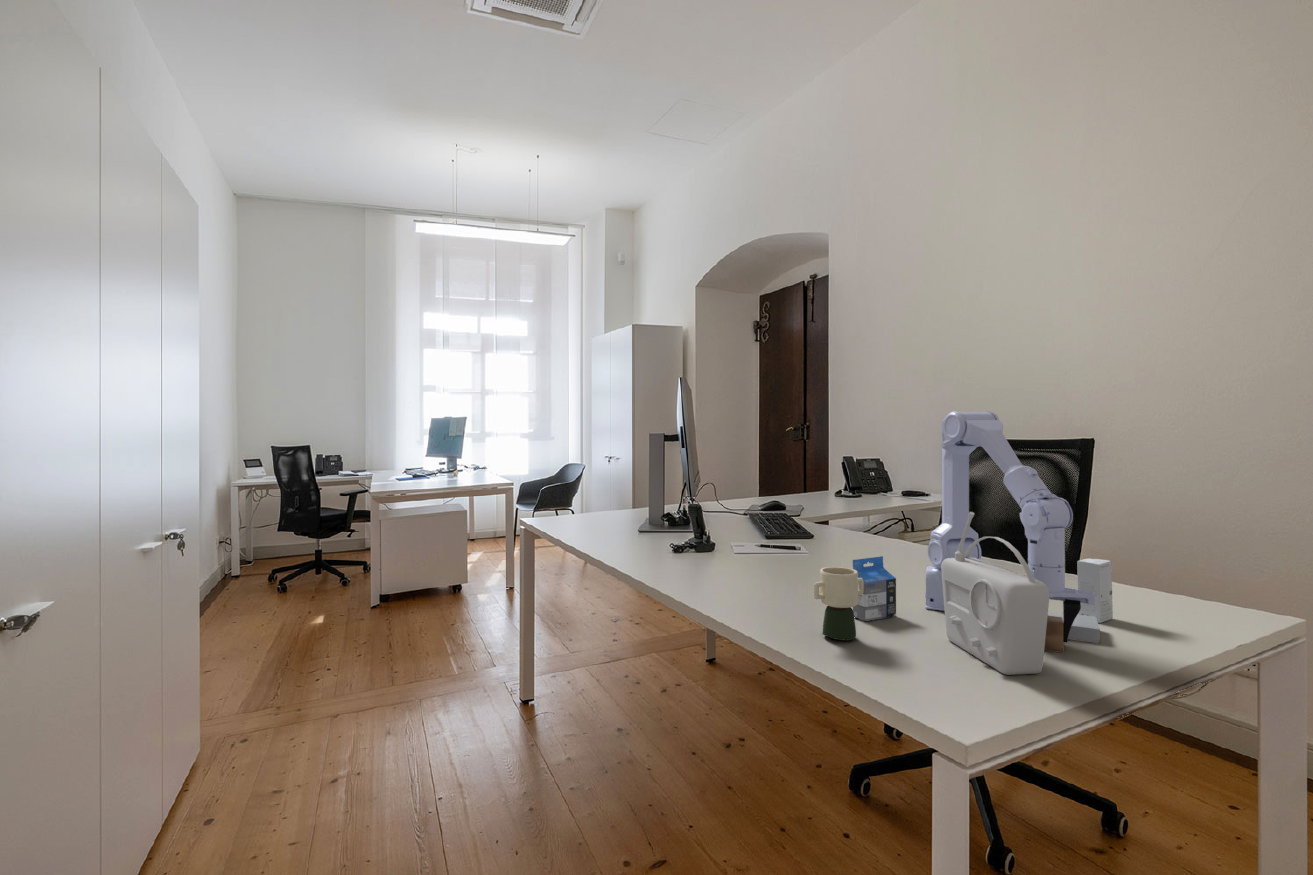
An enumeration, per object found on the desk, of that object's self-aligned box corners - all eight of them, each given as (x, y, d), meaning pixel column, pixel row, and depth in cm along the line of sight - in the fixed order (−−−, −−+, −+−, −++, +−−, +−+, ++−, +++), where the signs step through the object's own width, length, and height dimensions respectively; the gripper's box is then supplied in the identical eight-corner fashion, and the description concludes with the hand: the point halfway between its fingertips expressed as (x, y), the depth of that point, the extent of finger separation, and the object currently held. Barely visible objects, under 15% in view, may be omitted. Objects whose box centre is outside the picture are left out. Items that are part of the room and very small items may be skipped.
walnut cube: (1030, 647, 113) (1030, 620, 113) (1030, 639, 117) (1030, 613, 117) (1063, 652, 110) (1063, 624, 110) (1062, 644, 115) (1062, 617, 115)
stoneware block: (1042, 637, 120) (1042, 622, 120) (1042, 624, 127) (1042, 610, 127) (1099, 645, 115) (1099, 629, 115) (1095, 631, 123) (1095, 616, 123)
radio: (932, 636, 120) (931, 507, 119) (973, 635, 120) (972, 506, 120) (1003, 682, 98) (1003, 524, 98) (1053, 680, 98) (1053, 523, 98)
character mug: (852, 629, 125) (851, 564, 124) (875, 640, 118) (874, 572, 118) (804, 635, 121) (803, 568, 121) (825, 647, 114) (824, 577, 114)
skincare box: (1100, 623, 126) (1100, 564, 126) (1076, 618, 130) (1076, 560, 130) (1113, 618, 130) (1113, 560, 129) (1089, 613, 133) (1089, 557, 133)
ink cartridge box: (865, 622, 129) (864, 563, 129) (851, 617, 132) (851, 559, 132) (897, 616, 133) (896, 559, 132) (883, 611, 136) (882, 555, 136)
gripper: (999, 564, 114) (1000, 638, 114) (1096, 573, 106) (1096, 651, 107) (1001, 557, 120) (1001, 627, 120) (1093, 565, 113) (1093, 639, 113)
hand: (1046, 638), depth 114 cm, fingers closed on walnut cube, 5 cm apart
